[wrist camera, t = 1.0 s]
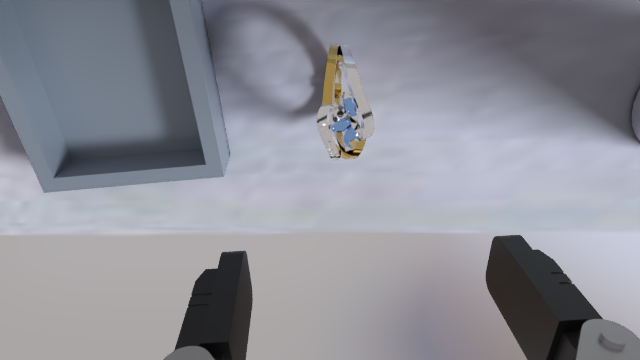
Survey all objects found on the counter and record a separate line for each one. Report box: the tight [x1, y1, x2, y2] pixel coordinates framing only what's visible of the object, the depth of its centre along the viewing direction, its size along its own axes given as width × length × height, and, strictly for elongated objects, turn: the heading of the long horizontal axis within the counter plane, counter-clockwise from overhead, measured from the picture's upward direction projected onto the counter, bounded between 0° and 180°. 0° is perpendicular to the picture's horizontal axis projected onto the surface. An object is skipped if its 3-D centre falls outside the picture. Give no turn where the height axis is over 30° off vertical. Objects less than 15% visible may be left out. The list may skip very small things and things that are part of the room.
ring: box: [317, 45, 374, 160], centre depth 26 cm, size 7×3×8 cm, turn 176°
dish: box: [0, 0, 230, 193], centre depth 26 cm, size 12×13×4 cm
